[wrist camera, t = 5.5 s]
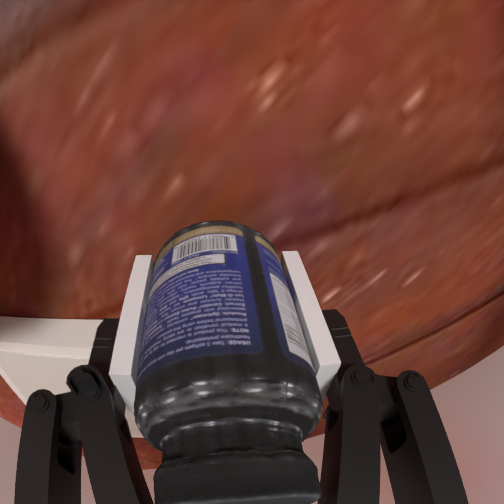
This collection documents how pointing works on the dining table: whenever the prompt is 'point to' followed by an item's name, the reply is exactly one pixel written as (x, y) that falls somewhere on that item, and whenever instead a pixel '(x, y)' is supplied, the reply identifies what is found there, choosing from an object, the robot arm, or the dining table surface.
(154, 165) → the dining table surface
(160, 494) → the pill bottle
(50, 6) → the dining table surface
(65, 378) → the square plate
